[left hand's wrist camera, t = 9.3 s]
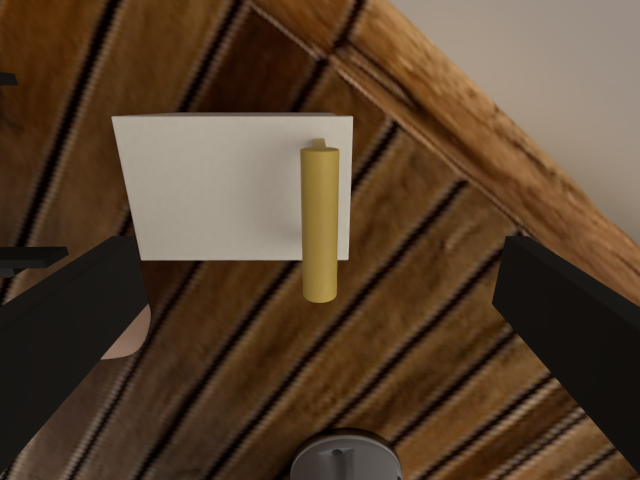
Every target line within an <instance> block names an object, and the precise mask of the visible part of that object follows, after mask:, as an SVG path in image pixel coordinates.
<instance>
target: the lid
mask: <svg viewBox="0 0 640 480" xmlns="http://www.w3.org/2000/svg"><path fill="white" fill-rule="evenodd" d="M112 123H113V127H114V132H115V137H116V142H117V146H118V151H119V156H120V161H121V166H122V170H123V175H124V180H125V185H126V189H127V194H128V199H129V204H130V209H131V213H132V218H133V223H134V228H135V232H136V237H137V242H138V247H139V252H140V256H141V260H302V270H303V296H304V297H305V298H306V299H307V300H309V301H311V302H316V303H323V302H328V301H331V300H333V299H334V298H335V297H336V294H337V260H348V254H349V224H350V193H351V163H352V132H353V117H352V116H112Z"/></svg>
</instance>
